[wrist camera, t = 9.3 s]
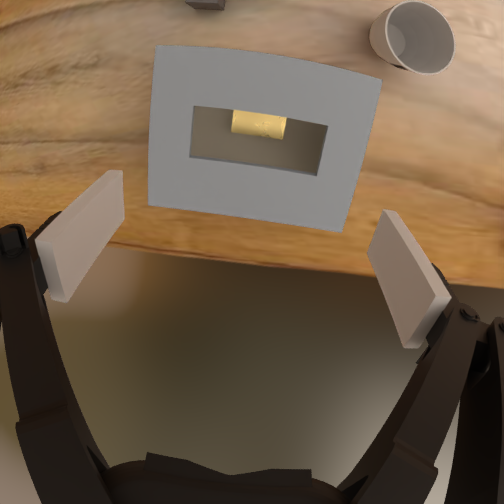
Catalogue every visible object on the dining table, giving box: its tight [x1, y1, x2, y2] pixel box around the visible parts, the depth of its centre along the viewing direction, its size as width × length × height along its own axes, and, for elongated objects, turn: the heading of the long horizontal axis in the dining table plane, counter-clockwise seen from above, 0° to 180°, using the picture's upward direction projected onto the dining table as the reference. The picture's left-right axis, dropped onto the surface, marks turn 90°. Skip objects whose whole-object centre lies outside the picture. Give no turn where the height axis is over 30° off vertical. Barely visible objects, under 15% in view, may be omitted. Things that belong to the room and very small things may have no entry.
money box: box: [148, 45, 383, 233], centre depth 33 cm, size 16×20×12 cm
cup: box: [369, 0, 456, 75], centre depth 26 cm, size 8×8×10 cm
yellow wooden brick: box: [231, 110, 287, 140], centre depth 36 cm, size 3×6×3 cm, turn 82°
